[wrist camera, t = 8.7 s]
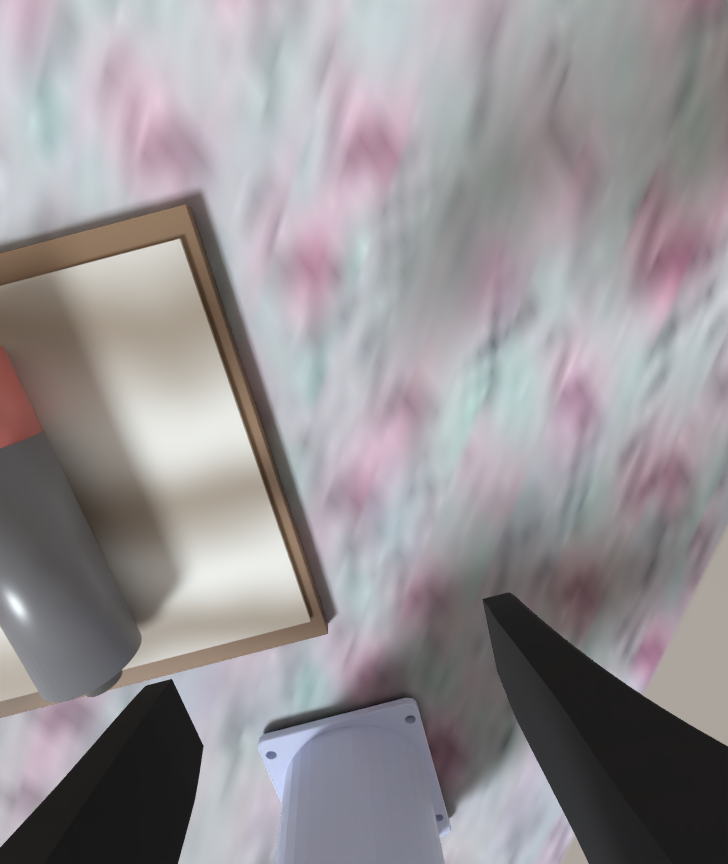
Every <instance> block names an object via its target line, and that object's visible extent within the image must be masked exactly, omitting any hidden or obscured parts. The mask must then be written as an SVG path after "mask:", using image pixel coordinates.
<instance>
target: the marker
mask: <svg viewBox="0 0 728 864" xmlns="http://www.w3.org/2000/svg"><path fill="white" fill-rule="evenodd" d="M0 627H1V629H2V630H3V632H4V634H5V636H6V637H7V639H8V641H9V642H10V644H11V646H12V647H13V649H14V651H15V653H16V654H17V656H18V658H19V659H20V661H21V663H22V665H23V666H24V668H25V670H26V671H27V673H28V675H29V677H30V678H31V680H32V682H33V683H34V685H35V687H36V688H37V690H38V692H39V694H40V695H41V697H42V698H43V699H44V700H45V701H47V702H52V703H58V702H65V701H69V700H72V699H75V698H78V697H80V696H83V695H86V696H87V697H94V696H98V695H100V694H102V693H104V692H106V691H107V690H109V689H110V688H112V687H113V686H114V685H115V684H116V683H117V682H118V681H119V679H120V678H121V676H122V673H123V670H122V669H123V668H124V667H125V666H126V665H127V664H128V663H129V662H130V661H131V660H132V658H133V657H134V656H135V654H136V653H137V651H138V649H139V647H140V645H141V641H142V636H141V633H140V631H139V629H138V627H137V625H136V622H135V620H134V618H133V616H132V614H131V612H130V610H129V608H128V606H127V604H126V602H125V599H124V597H123V595H122V593H121V591H120V589H119V587H118V585H117V583H116V581H115V579H114V576H113V574H112V572H111V570H110V568H109V566H108V564H107V562H106V560H105V558H104V556H103V553H102V551H101V549H100V547H99V545H98V543H97V541H96V539H95V537H94V535H93V533H92V530H91V528H90V526H89V524H88V522H87V520H86V518H85V516H84V514H83V512H82V509H81V507H80V505H79V503H78V501H77V499H76V497H75V495H74V493H73V491H72V489H71V486H70V484H69V482H68V480H67V478H66V476H65V474H64V472H63V470H62V468H61V466H60V463H59V461H58V459H57V457H56V455H55V453H54V451H53V449H52V447H51V445H50V443H49V440H48V438H47V436H46V434H45V432H44V430H43V428H42V426H41V424H40V422H39V420H38V417H37V415H36V413H35V411H34V409H33V407H32V405H31V403H30V401H29V399H28V397H27V394H26V392H25V390H24V388H23V386H22V384H21V382H20V380H19V378H18V376H17V374H16V371H15V369H14V367H13V365H12V363H11V361H10V359H9V357H8V355H7V353H6V351H5V348H4V346H0Z"/></svg>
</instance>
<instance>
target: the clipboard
mask: <svg viewBox="0 0 728 864" xmlns="http://www.w3.org/2000/svg"><path fill="white" fill-rule="evenodd" d="M0 346H4V348H5V351H6V353H7V355H8V357H9V359H10V361H11V363H12V365H13V367H14V369H15V371H16V374H17V376H18V378H19V380H20V382H21V384H22V386H23V388H24V390H25V392H26V394H27V397H28V399H29V401H30V403H31V405H32V407H33V409H34V411H35V413H36V415H37V417H38V420H39V422H40V424H41V426H42V428H43V430H44V432H45V434H46V436H47V438H48V440H49V443H50V445H51V447H52V449H53V451H54V453H55V455H56V457H57V459H58V461H59V463H60V466H61V468H62V470H63V472H64V474H65V476H66V478H67V480H68V482H69V484H70V486H71V489H72V491H73V493H74V495H75V497H76V499H77V501H78V503H79V505H80V507H81V509H82V512H83V514H84V516H85V518H86V520H87V522H88V524H89V526H90V528H91V530H92V533H93V535H94V537H95V539H96V541H97V543H98V545H99V547H100V549H101V551H102V553H103V556H104V558H105V560H106V562H107V564H108V566H109V568H110V570H111V572H112V574H113V576H114V579H115V581H116V583H117V585H118V587H119V589H120V591H121V593H122V595H123V597H124V599H125V602H126V604H127V606H128V608H129V610H130V612H131V614H132V616H133V618H134V620H135V622H136V625H137V627H138V629H139V631H140V633H141V636H142V641H141V645H140V647H139V649H138V651H137V653H136V654H135V656H134V657H133V658H132V660H131V661H130V662H129V663H128V664H127V665H126V666H125V667H124V668H123V669H122V670H123V673H122V676H121V678H120V679H119V681H118V682H117V683H116V684H115V685H114V686H113V687H112V688H110V689H109V690H111V689H115V688H119V687H123V686H127V685H131V684H135V683H138V682H142V681H146V680H150V679H154V678H158V677H162V676H166V675H170V674H173V673H177V672H181V671H185V670H189V669H193V668H197V667H201V666H205V665H208V664H212V663H216V662H220V661H224V660H228V659H232V658H236V657H239V656H243V655H247V654H251V653H255V652H259V651H263V650H267V649H271V648H274V647H278V646H282V645H286V644H290V643H294V642H298V641H302V640H306V639H309V638H313V637H317V636H321V635H325V634H328V623H327V620H326V617H325V614H324V611H323V608H322V605H321V602H320V599H319V596H318V593H317V590H316V587H315V584H314V581H313V578H312V575H311V572H310V569H309V566H308V563H307V559H306V556H305V553H304V550H303V547H302V544H301V541H300V538H299V535H298V532H297V529H296V526H295V523H294V520H293V517H292V514H291V511H290V508H289V505H288V502H287V499H286V496H285V493H284V490H283V487H282V484H281V481H280V478H279V475H278V472H277V468H276V465H275V462H274V459H273V456H272V453H271V450H270V447H269V444H268V441H267V438H266V435H265V432H264V429H263V426H262V423H261V420H260V417H259V414H258V411H257V408H256V405H255V402H254V399H253V396H252V393H251V390H250V387H249V384H248V381H247V377H246V374H245V371H244V368H243V365H242V362H241V359H240V356H239V353H238V350H237V347H236V344H235V341H234V338H233V335H232V332H231V329H230V326H229V323H228V320H227V317H226V314H225V311H224V308H223V305H222V302H221V299H220V296H219V293H218V290H217V286H216V283H215V280H214V277H213V274H212V271H211V268H210V265H209V262H208V259H207V256H206V253H205V250H204V247H203V244H202V241H201V238H200V235H199V232H198V229H197V226H196V223H195V220H194V217H193V214H192V211H191V208H190V207H188V206H187V205H181V206H177V207H174V208H170V209H166V210H162V211H159V212H155V213H151V214H147V215H143V216H140V217H136V218H132V219H128V220H124V221H121V222H117V223H113V224H109V225H105V226H102V227H98V228H94V229H90V230H87V231H83V232H79V233H75V234H71V235H68V236H64V237H60V238H56V239H52V240H49V241H45V242H41V243H37V244H33V245H30V246H26V247H22V248H18V249H15V250H11V251H7V252H3V253H0ZM84 696H86V695H83V696H80V697H84ZM80 697H78V698H80ZM75 699H76V698H75ZM58 703H61V702H58ZM53 704H57V703H52V702H47V701H45V700H44V699H43V698H42V697H41V695H40V694H39V692H38V690H37V688H36V687H35V685H34V683H33V682H32V680H31V678H30V677H29V675H28V673H27V671H26V670H25V668H24V666H23V665H22V663H21V661H20V659H19V658H18V656H17V654H16V653H15V651H14V649H13V647H12V646H11V644H10V642H9V641H8V639H7V637H6V636H5V634H4V632H3V630H2V629H1V627H0V718H2V717H6V716H10V715H14V714H18V713H22V712H26V711H30V710H34V709H37V708H41V707H45V706H49V705H53Z"/></svg>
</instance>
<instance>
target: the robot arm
mask: <svg viewBox="0 0 728 864" xmlns="http://www.w3.org/2000/svg"><path fill="white" fill-rule="evenodd" d="M483 604H484V608H485V613H486V618H487V623H488V628H489V633H490V638H491V643H492V648H493V652H494V657H495V662H496V667H497V671H498V674H499V676H500V679H501V682H502V684H503V687H504V689H505V692H506V694H507V697H508V700H509V702H510V705H511V707H512V710H513V712H514V715H515V717H516V719H517V721H518V723H519V725H520V727H521V729H522V731H523V733H524V735H525V737H526V739H527V741H528V743H529V745H530V747H531V749H532V751H533V753H534V755H535V757H536V759H537V761H538V763H539V765H540V767H541V769H542V771H543V773H544V774H545V776H546V778H547V780H548V782H549V784H550V786H551V788H552V790H553V792H554V794H555V796H556V798H557V800H558V802H559V804H560V806H561V808H562V810H563V812H564V814H565V816H566V818H567V820H568V821H569V823H570V825H571V827H572V829H573V831H574V833H575V835H576V837H577V839H578V842H579V844H580V846H581V848H582V850H583V852H584V854H585V856H586V858H587V861H588V863H589V864H728V746H726V745H724V744H722V743H721V742H719V741H717V740H715V739H714V738H712V737H710V736H708V735H707V734H705V733H703V732H701V731H700V730H698V729H696V728H695V727H693V726H691V725H689V724H688V723H686V722H684V721H683V720H681V719H679V718H678V717H676V716H675V715H673V714H671V713H669V712H668V711H666V710H665V709H663V708H661V707H660V706H658V705H657V704H655V703H653V702H652V701H650V700H649V699H647V698H646V697H644V696H643V695H641V694H640V693H638V692H637V691H635V690H634V689H632V688H631V687H629V686H628V685H626V684H625V683H624V682H622V681H621V680H619V679H618V678H616V677H615V676H614V675H612V674H611V673H609V672H608V671H606V670H605V669H604V668H602V667H601V666H600V665H598V664H597V663H595V662H594V661H593V660H591V659H590V658H589V657H587V656H586V655H585V654H584V653H582V652H581V651H580V650H578V649H577V648H576V647H574V646H573V645H572V644H571V643H569V642H568V641H567V640H565V639H564V638H563V637H562V636H560V635H559V634H558V633H557V632H556V631H554V630H553V629H552V628H551V627H550V626H548V625H547V624H546V623H545V622H544V621H542V620H541V619H540V618H539V617H538V616H537V615H535V614H534V613H533V612H532V611H531V610H530V609H529V608H528V607H526V606H525V605H524V604H523V603H522V602H521V601H520V600H519V599H518V598H517V597H516V596H514V595H513V594H511V593H505V594H501V595H497V596H493V597H489V598H485V599H483ZM409 715H412V716H410V717H407V716H409ZM258 750H259V752H260V755H261V757H262V759H263V762H264V764H265V766H266V769H267V771H268V773H269V776H270V778H271V780H272V783H273V785H274V787H275V790H276V792H277V794H278V797H279V799H280V802H281V804H282V807H281V817H280V827H279V837H278V847H277V857H276V864H445V862H444V857H443V852H442V847H441V842H440V837H444V836H446V835H448V834H449V833H450V831H451V825H450V821H449V817H448V814H447V810H446V807H445V803H444V799H443V796H442V792H441V788H440V785H439V781H438V778H437V774H436V770H435V767H434V763H433V760H432V756H431V752H430V749H429V745H428V742H427V738H426V734H425V731H424V727H423V724H422V720H421V716H420V713H419V709H418V706H417V703H416V701H415V700H414V699H412V698H403V699H399V700H395V701H391V702H387V703H383V704H379V705H375V706H371V707H367V708H363V709H360V710H356V711H352V712H348V713H344V714H340V715H336V716H332V717H328V718H324V719H321V720H317V721H313V722H309V723H305V724H301V725H297V726H293V727H289V728H285V729H282V730H278V731H274V732H270V733H266V734H264V735H262V736H261V737H260V739H259V742H258ZM271 751H273V752H271ZM202 752H203V744H202V742H201V740H200V738H199V736H198V733H197V731H196V729H195V727H194V725H193V723H192V721H191V719H190V716H189V714H188V712H187V710H186V708H185V706H184V704H183V702H182V700H181V697H180V695H179V693H178V691H177V689H176V687H175V685H174V683H173V680H172V679H170V680H166V681H163V682H159V683H155V684H151V685H147V686H145V687H144V688H143V689H142V690H141V691H140V692H139V693H138V694H137V696H136V697H135V698H134V699H133V700H132V701H131V702H130V703H129V704H128V705H127V707H126V708H125V709H124V710H123V711H122V712H121V713H120V715H119V716H118V717H117V718H116V719H115V720H114V721H113V723H112V724H111V725H110V726H109V727H108V728H107V729H106V731H105V732H104V733H103V734H102V735H101V736H100V738H99V739H98V740H97V741H96V742H95V743H94V744H93V746H92V747H91V748H90V749H89V750H88V751H87V752H86V754H85V755H84V756H83V757H82V758H81V759H80V761H79V762H78V763H77V764H76V765H75V766H74V767H73V769H72V770H71V771H70V772H69V773H68V774H67V775H66V777H65V778H64V779H63V780H62V781H61V782H60V783H59V784H58V786H57V787H56V788H55V789H54V790H53V791H52V792H51V793H50V794H49V795H48V796H47V797H46V799H45V800H44V801H43V802H42V803H41V804H40V805H39V806H38V807H37V808H36V809H35V811H34V812H33V813H32V814H31V815H30V816H29V817H28V818H27V819H26V820H25V821H24V822H23V824H22V825H21V826H20V827H19V828H18V829H17V830H16V831H15V832H14V833H13V834H12V835H11V837H10V838H9V839H8V840H7V841H6V842H5V843H4V844H3V845H2V846H1V847H0V864H178V861H179V857H180V854H181V850H182V846H183V843H184V839H185V835H186V831H187V828H188V824H189V820H190V817H191V813H192V809H193V805H194V801H195V796H196V790H197V785H198V779H199V773H200V766H201V759H202Z"/></svg>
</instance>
